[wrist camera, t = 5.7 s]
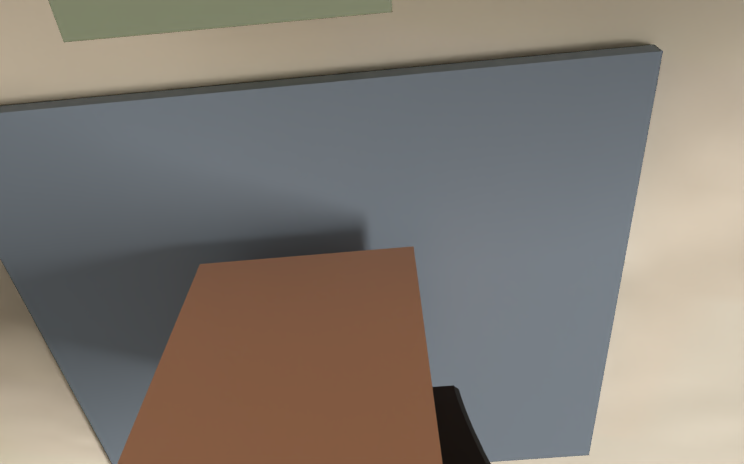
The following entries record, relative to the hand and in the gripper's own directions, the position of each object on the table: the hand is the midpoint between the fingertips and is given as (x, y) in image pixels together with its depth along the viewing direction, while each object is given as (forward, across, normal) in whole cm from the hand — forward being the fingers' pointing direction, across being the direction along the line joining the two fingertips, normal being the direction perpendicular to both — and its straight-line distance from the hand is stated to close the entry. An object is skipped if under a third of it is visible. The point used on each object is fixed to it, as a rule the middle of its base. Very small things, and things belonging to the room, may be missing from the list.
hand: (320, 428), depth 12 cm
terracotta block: (+2, 0, -1) cm, 2 cm away
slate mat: (+3, 0, 0) cm, 3 cm away
